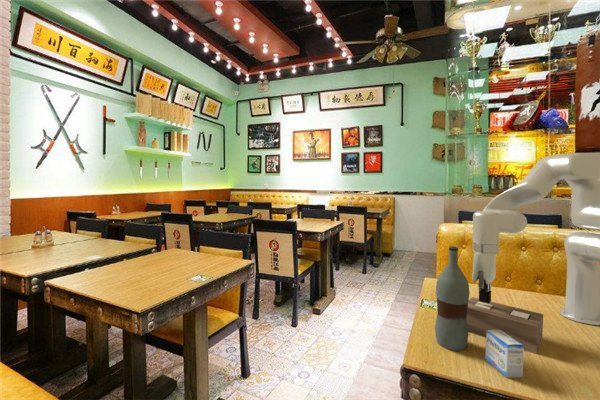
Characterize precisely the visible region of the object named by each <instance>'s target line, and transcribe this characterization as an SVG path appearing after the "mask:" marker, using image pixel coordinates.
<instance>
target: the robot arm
mask: <svg viewBox="0 0 600 400" xmlns="http://www.w3.org/2000/svg"><path fill="white" fill-rule="evenodd" d="M599 179H600V152H572V153H571V152H570V153H563V154H551V155H547V156H544V157H542V158H541V159H539V161H537V162H536V164H535V165H533V167H532V168H531V169H530V170H529V172H528V173H527V174H526V175H525V176H524V177H523V178H522V180H520V182H519V183H518V184H516V185H514V186H512V187H510V188H508V189H507V190H505V191H503V192H502V193H500V194H498V195H496V196H495V197H494V198H492V199H491V200H490V201H489V203H488V204H487V205H486V206H485V207H484V208H483V209H482V210H480V211H479V210H478V211H475V212H474V213H473V215H472V252H473V253H474V254H473V261H472V272H471V273H472V276H471V281H472V282H474V283H475V282H477V281H478V285H477V287H478V298H479V301H481V302H485V303H490V302H492V282H493V281H494V280H495V278H496V276H497V255H499V254H500V233H507V234H518V233H520V232H522V231H524V230H525V229H526V227H527V225H528V220H527V217H526V216H525V215H524V213H522V212H520V211H516V210H513V209H515V208H517V207H520V206H525V205H529V204H533V203H536V202H538V201H541V200H543V199H545V198H546V196H547V195H548V194H549V193H550V192H551V190H552V189H554V187H555V186H556V185H557V184H558V182H560V181H561V180H564V182H566V183H567V184H568V186H569V187H570V191H571V207H570V208H571V209H570V219H571V223H572V225H573V226H575V227H577V228H580V229H587V230H593V231H600V180H599ZM563 244H564V245H563V246H564V250H565V255H566V284H565V285H566V287H565V307H562V308H560V309H559V314H560V315H561V316H562V317H564V318H566V319H568V320H572V321H575V322H577V323H580V324H587V325H593V326H600V233H593V232H588V231H587V232H586V231H573V232H571V233H569V234H568V235H567V236H566V237H565V239H564V243H563Z"/></svg>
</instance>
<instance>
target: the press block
mask: <svg viewBox="0 0 600 400" xmlns="http://www.w3.org/2000/svg"><path fill="white" fill-rule="evenodd" d="M477 302H481V301H479V297H474V296H472V297H471V298H469V300H468V309H467V325H468V333H470V334H474V335H476V336H477V335H478V336H480V337H483V338H486V333H487V330H501V331H503V332H504V333H506V334H507V335H509V336H510V337H512V338H513V339H515V340H517V341H518V342H520V343H521V344H523V345H524V351H527V352H530V353H533V354H537V353H538V350H539V348H540V345H541V343H542V340H543V337H544V336H543V332H544V313H540V312H536V311H532V310H528V309H524V308H519V307H515V306H511V305H507V304H503V303H499V302H495V301H491V302H490V303H486V304H490V305H493V307H492V308H491V310H488V309H485V308H481V307H477V306H474V305H475V304H476V303H477ZM482 303H485V302H482ZM513 310H514V311H518V312H522V313H526V314H530V318H529V320H527V319H523V318H519V317H515V316H511V315H510V314H511V312H512V311H513Z"/></svg>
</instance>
